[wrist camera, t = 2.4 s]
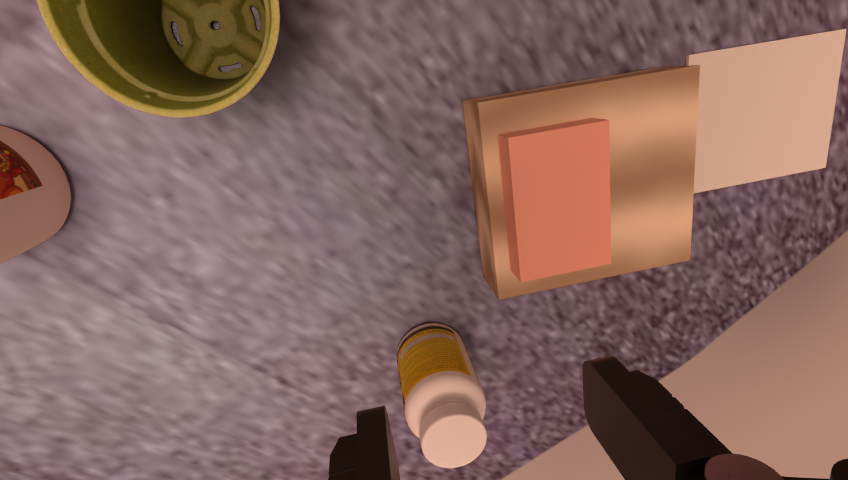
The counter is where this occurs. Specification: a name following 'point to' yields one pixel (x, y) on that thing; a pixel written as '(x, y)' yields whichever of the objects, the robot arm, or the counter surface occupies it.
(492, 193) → the wooden block
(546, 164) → the salmon orange flat block
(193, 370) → the counter surface
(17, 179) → the milk bottle
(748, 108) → the mat
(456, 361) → the supplement bottle
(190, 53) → the plant pot
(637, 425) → the robot arm
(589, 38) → the counter surface
